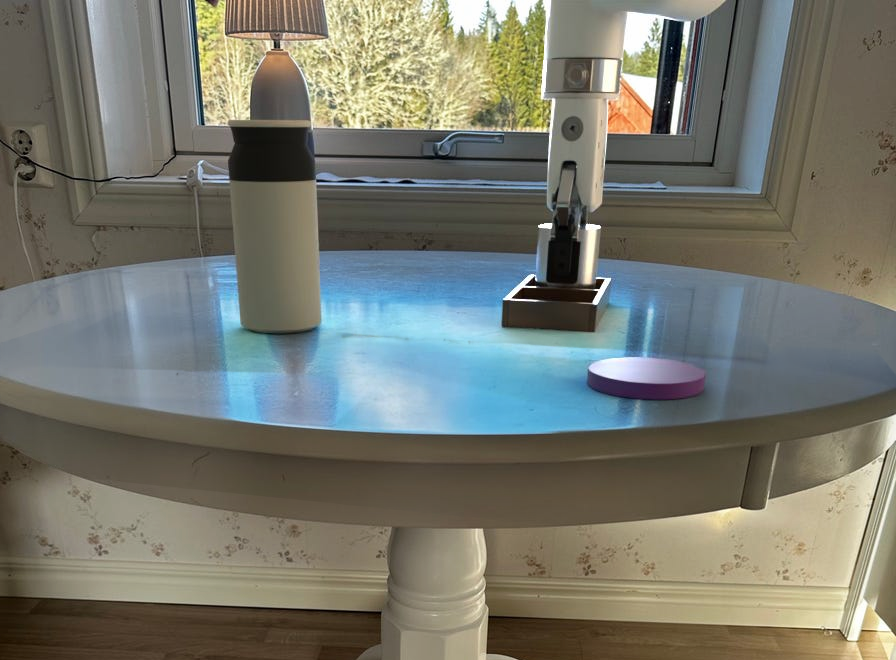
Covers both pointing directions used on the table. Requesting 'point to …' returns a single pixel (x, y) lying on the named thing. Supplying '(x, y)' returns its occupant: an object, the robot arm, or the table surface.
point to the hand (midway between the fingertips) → (565, 276)
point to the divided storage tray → (555, 306)
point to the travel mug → (275, 225)
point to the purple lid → (646, 378)
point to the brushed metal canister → (587, 260)
